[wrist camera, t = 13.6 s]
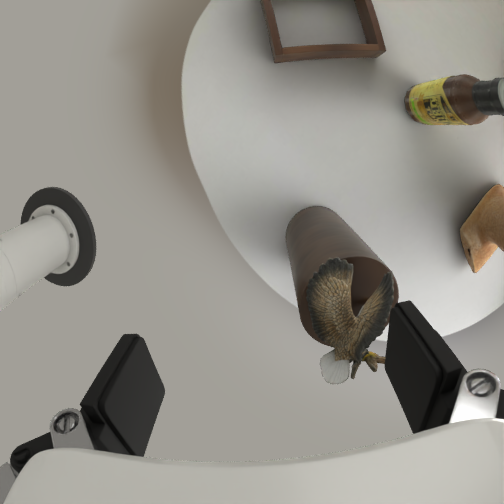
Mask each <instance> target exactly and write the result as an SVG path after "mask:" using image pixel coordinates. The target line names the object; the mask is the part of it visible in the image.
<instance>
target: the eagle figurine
mask: <svg viewBox="0 0 504 504" xmlns="http://www.w3.org/2000/svg"><path fill="white" fill-rule="evenodd" d="M392 275H393V273H392V271H391V272H387V274H384V277H383V279H382V281H381V283H380V285H379V286H378V288H377V289H376V291H375V292H374V293H373V294H372V296H371V297H370V298H369V299H368V300H367V301H366V303H365V304H364V305H363V306H362V308H361V310H360V312H359V314H358V316H357V317H355V316H354V314H353V311H352V308H351V284H352V276H353V264H348V262H347V261H346V260H345V259H344V260H340V258H338V257H335V258H334V259H332V258H328V259H327V261H326V263H325V264H324V263H322V264H321V265H320V266H319V270H318V272H314V273H313V278H310V279H309V283H308V289H307V290H306V293H307V297H306V300H307V302H308V309H309V311H310V312H311V313H310V316H311V321H312V322H313V323H312V326H313V329H314V332H315V333H316V334H317V337H318V338H320V339H321V340H322V341H325V343H327V344H330V346H331V347H334V348H335V349H334V350H332V351H331V352H329V353H327V354H325V355H324V356H323V357H322V358H321V360H320V366H321V370H322V376H323V377H324V379H325V381H326V382H328V383H330V384H339V383H343V382H344V381H346V380H347V379H348V377H349V363H351V362H352V361H353V365H352V373H351V378H352V379H354V378H355V374H356V371H357V369H358V367H359V365H360V364H361V361H366V363H367V364H368V366H369V367H370V368H371V370H372V371H373V372H376V371H377V363H383V364H385V357H380V356H378V355H377V354H376V353H373V352H369V351H368V350H367V349H366V348H368V347H369V345H370V344H371V342H372V341H374V340H375V339H376V337H378V336H380V335H381V334H382V333H383V330H384V329H385V324H386V323H387V318H388V317H389V314H390V310H391V307H392V303H393V300H394V297H393V295H394V287H393V284H394V280H393V279H392V278H393V277H392Z"/></svg>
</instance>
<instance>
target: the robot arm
mask: <svg viewBox="0 0 504 504" xmlns="http://www.w3.org/2000/svg"><path fill="white" fill-rule="evenodd" d="M78 255H79V238H78V234H77V230H76V228H75V225H74V223H73V222H72V220H71V218H70V217H69V216H68V215H67V213H66V212H64V211H63V210H62V209H61V208H59V207H57V206H54V205H44V206H41V207H39V208H37V209H36V210H35V211H34V212H33V213H32V215H31V217H30V218H29V221H28V222H26V223H24V224H21V225H19V226H17V227H15V228H13V229H10V230H8V231H7V232H4V233H2V234H0V311H1V310H3V308H5V307H6V306H7V305H9V304H10V303H11V302H12V301H14V300H15V299H16V298H17V297H19V296H20V295H21V294H22V293H24V292H25V291H27V290H28V289H29V288H30V287H32V286H33V285H34V284H36V283H37V282H38V281H40V280H41V279H42V278H44V277H45V276H47V275H48V274H49V273H55V274H62V273H65V272H67V271H68V270H70V269H71V268H72V267H73V266H74V265H75V263H76V261H77V259H78ZM385 370H386V373H387V375H388V377H389V379H390V382H391V384H392V386H393V388H394V390H395V392H396V394H397V397H398V399H399V401H400V404H401V406H402V408H403V411H404V413H405V415H406V418H407V420H408V422H409V425H410V427H411V430H412V432H413V434H412V435H408V436H405V437H401V438H397V439H394V440H390V441H386V442H382V443H377V444H373V445H370V446H365V447H360V448H356V449H350V450H346V451H340V452H335V453H328V454H321V455H315V456H307V457H299V458H290V459H279V460H266V461H248V462H247V461H245V462H202V461H201V462H200V461H181V460H167V459H157V458H147V457H143V456H144V454H145V450H146V448H147V444H148V441H149V438H150V435H151V432H152V430H153V426H154V424H155V421H156V418H157V415H158V412H159V409H160V406H161V403H162V401H163V398H164V394H165V389H164V385H163V383H162V381H161V379H160V376H159V374H158V372H157V369H156V367H155V365H154V362H153V360H152V358H151V355H150V353H149V350H148V348H147V345H146V343H145V341H144V339H143V338H142V337H140V336H139V335H138V334H124V335H123V336H122V337H121V339H120V340H119V342H118V343H117V345H116V346H115V348H114V350H113V351H112V353H111V354H110V356H109V357H108V359H107V361H106V362H105V364H104V365H103V367H102V368H101V370H100V372H99V373H98V375H97V377H96V378H95V380H94V382H93V383H92V385H91V387H90V388H89V390H88V391H87V393H86V395H85V396H84V398H83V400H82V402H81V403H80V405H81V407H82V408H81V410H80V411H78V410H77V409H73V408H68V409H64V410H62V411H60V412H58V413H57V414H56V415H55V416H54V417H53V419H52V420H51V423H50V432H49V433H46V434H44V435H42V436H40V437H38V438H35V439H33V440H31V441H29V442H26V443H24V444H22V445H20V446H18V447H17V448H16V449H15V450H14V451H13V453H12V454H11V458H10V463H11V464H8V462H6V463H5V464H3V465H2V466H1V467H0V504H504V390H502V389H500V381H499V379H498V377H497V376H496V375H495V374H494V373H492V372H490V371H488V370H485V369H474V370H471V371H469V372H467V371H466V369H465V368H464V367H463V365H462V364H461V362H460V361H459V360H458V358H457V357H456V356H455V354H454V353H453V352H452V350H451V349H450V348H449V346H448V345H447V344H446V343H445V341H444V340H443V339H442V337H441V336H440V335H439V334H438V332H437V331H436V330H434V329H433V328H432V326H431V325H430V324H429V323H428V321H427V320H426V319H425V318H424V316H423V315H422V314H421V313H420V312H419V310H418V309H417V308H416V307H415V305H414V304H413V303H412V302H411V301H405V302H400V303H396V304H395V306H394V308H391V310H390V320H389V331H388V340H387V348H386V356H385Z"/></svg>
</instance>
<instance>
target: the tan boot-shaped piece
mask: <svg viewBox="0 0 504 504" xmlns="http://www.w3.org/2000/svg"><path fill="white" fill-rule="evenodd" d="M460 237H461V242H462V246H463V249H464V252H465V256H466V258H467V260H468V264H469V265H470V267H471V269H472V271H473V272H474V273H477V272H478V271H479V269H480V268H481V267H482V266H483V265H484V264H485V263H486V261H487V260H488V259H489V258H490V257H491V255H492V254H493V253H494V251H495V250H496V249H497V248H498V247H499V248H500V249H501V250H502V251H504V187H503V186H501V185H500V184H497V185H495V186H493V187H492V188H491V189H490V190H489V191H488V192H487V193H486V194H485V195H484V197H483V198H482V199H481V201H480V202H479V203H478V205H477V206H476V207H475V209H474V210H473V212H472V213H471V214H470V216H469V217H468V219H467V220H466V221H465V222H464V224H463V225H462V227H461V228H460Z"/></svg>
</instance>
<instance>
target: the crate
mask: <svg viewBox="0 0 504 504" xmlns="http://www.w3.org/2000/svg"><path fill="white" fill-rule="evenodd" d="M354 1H355V4H356V7H357V11H358V14H359V17H360V20H361V24H362V27H363V31H364V35H365V38H366V42H367V44H325V45H307V46H295V47H285V48H282V46H281V42H280V37H279V33H278V28H277V24H276V20H275V16H274V12H273V8H272V4H271V0H261V5H262V9H263V13H264V17H265V21H266V26H267V30H268V35H269V39H270V44H271V49H272V53H273V58H274V63H281V62H290V61H300V60H313V59H330V58H377V57H378V56H380V55H381V54H383V53H384V52H385V51H386V48H385V45H384V41H383V37H382V33H381V30H380V27H379V23H378V20H377V17H376V13H375V10H374V7H373V4H372V1H371V0H354Z"/></svg>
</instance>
